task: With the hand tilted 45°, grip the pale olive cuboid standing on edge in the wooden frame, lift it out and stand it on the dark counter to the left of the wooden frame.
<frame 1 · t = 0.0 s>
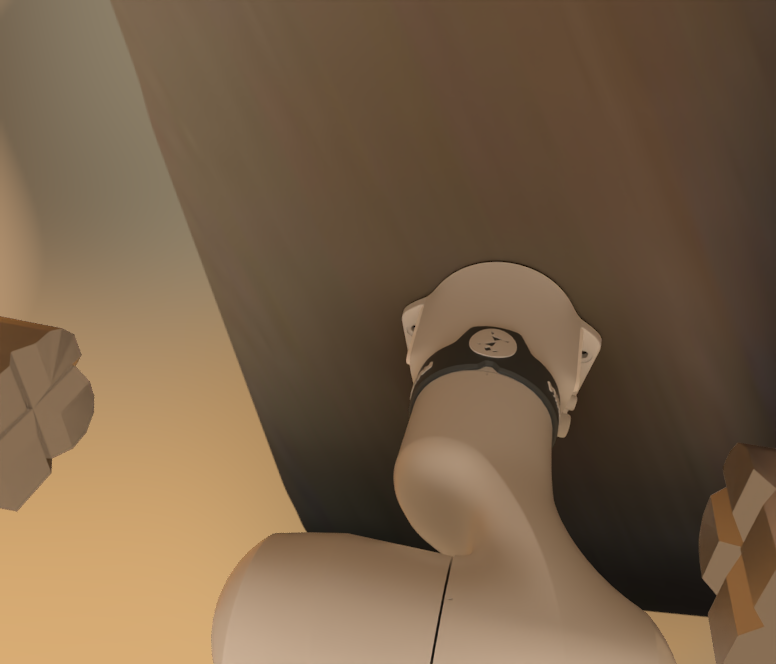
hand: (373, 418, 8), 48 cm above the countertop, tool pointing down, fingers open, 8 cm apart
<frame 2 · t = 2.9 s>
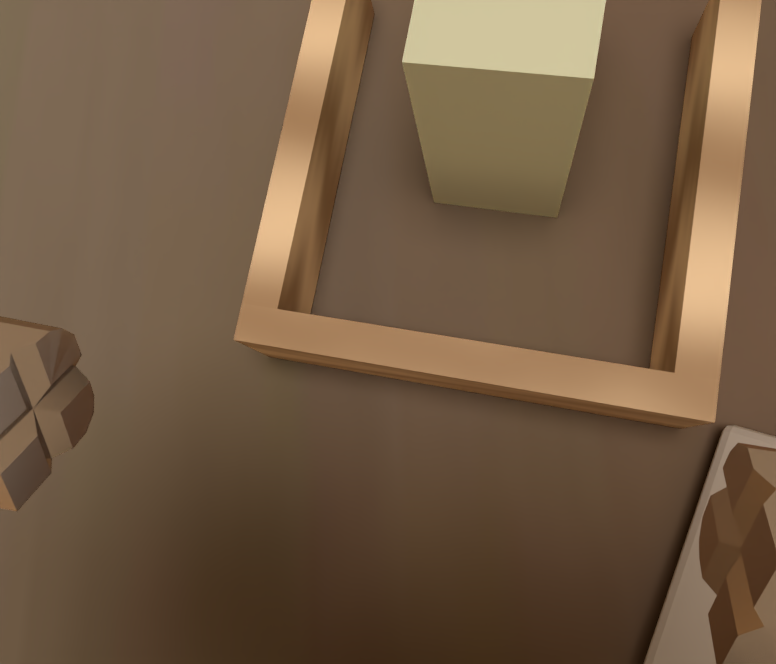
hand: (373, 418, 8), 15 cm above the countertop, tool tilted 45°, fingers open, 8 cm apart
wooden frame: (509, 121, 25), on the countertop
pale olive cuboid: (509, 122, 25), on the countertop
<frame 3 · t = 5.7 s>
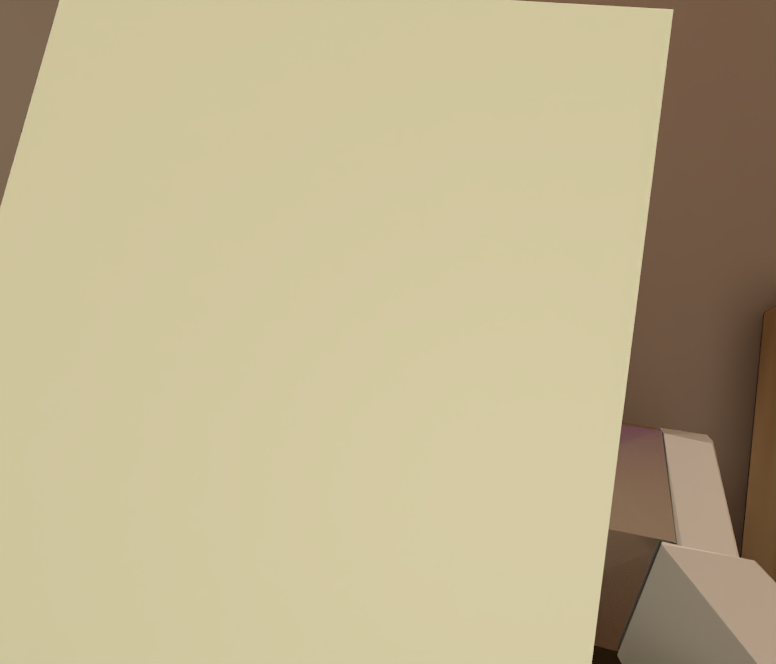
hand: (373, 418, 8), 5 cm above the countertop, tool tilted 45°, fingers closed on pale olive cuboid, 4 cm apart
wooden frame: (411, 468, 13), on the countertop
pale olive cuboid: (412, 467, 13), on the countertop, touching gripper
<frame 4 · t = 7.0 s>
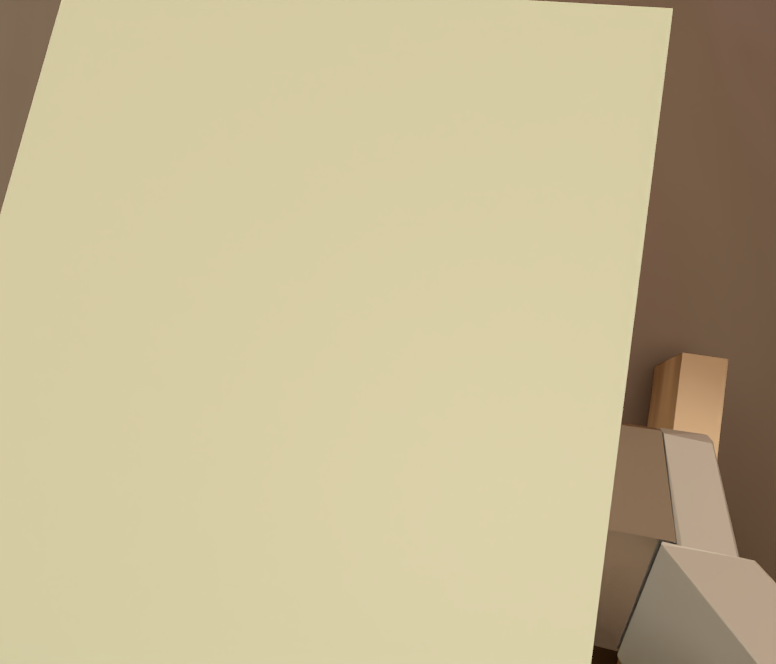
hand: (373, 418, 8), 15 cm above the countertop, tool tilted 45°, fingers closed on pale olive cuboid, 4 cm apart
wooden frame: (455, 453, 23), on the countertop
pale olive cuboid: (412, 466, 13), point 10 cm above the countertop, touching gripper
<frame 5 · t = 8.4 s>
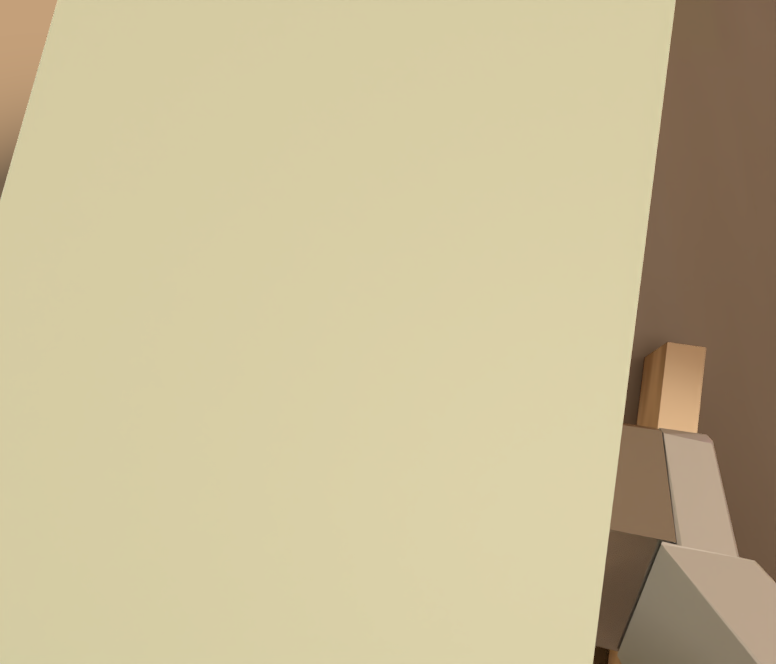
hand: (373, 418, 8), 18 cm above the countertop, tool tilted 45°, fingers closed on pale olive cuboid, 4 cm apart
pale olive cuboid: (412, 463, 13), point 13 cm above the countertop, touching gripper
when the fingers open (6 cm above the countertop, at t = 11.1 s): pale olive cuboid stays where it is, on the countertop.
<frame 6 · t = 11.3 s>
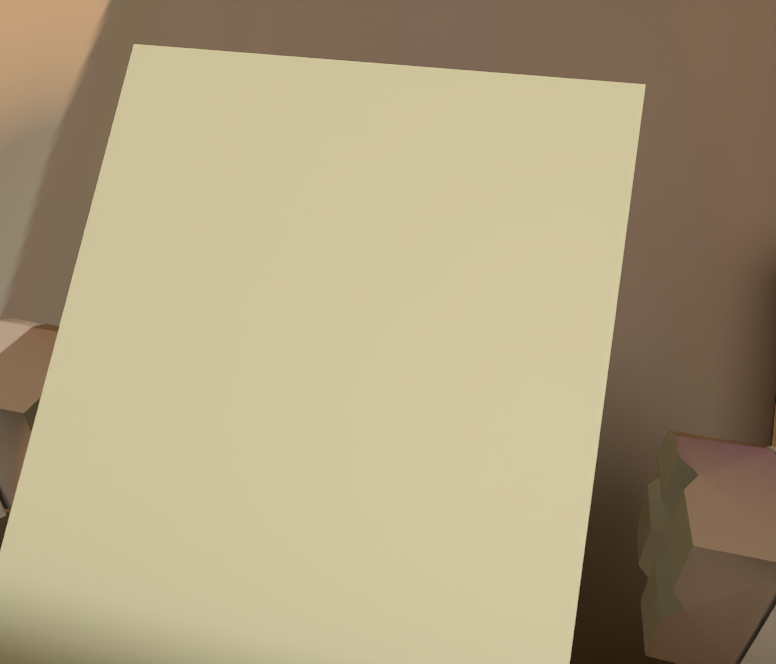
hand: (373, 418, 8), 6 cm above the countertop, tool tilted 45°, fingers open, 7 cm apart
pale olive cuboid: (417, 464, 14), on the countertop
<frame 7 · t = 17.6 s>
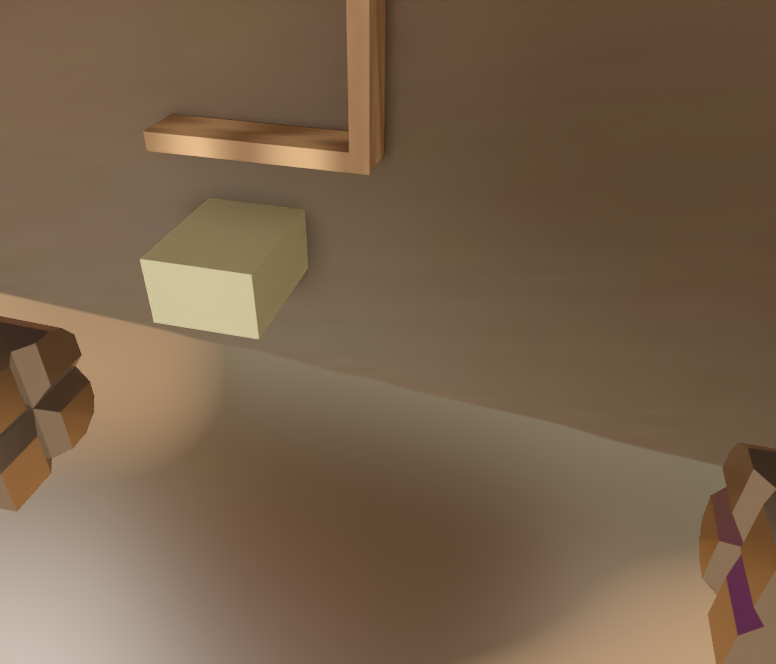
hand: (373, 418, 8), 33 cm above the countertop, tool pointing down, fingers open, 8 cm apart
wooden frame: (216, 17, 39), on the countertop
pale olive cuboid: (259, 233, 47), on the countertop
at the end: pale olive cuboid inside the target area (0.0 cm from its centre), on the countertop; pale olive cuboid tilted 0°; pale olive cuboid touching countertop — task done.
